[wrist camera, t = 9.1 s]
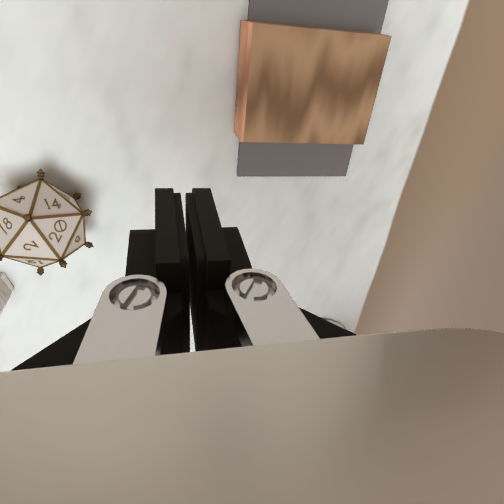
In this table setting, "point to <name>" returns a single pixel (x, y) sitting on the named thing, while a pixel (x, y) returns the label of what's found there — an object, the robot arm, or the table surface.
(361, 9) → the mat
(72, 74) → the table surface
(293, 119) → the walnut slab
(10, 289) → the ink cartridge box
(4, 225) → the game die
